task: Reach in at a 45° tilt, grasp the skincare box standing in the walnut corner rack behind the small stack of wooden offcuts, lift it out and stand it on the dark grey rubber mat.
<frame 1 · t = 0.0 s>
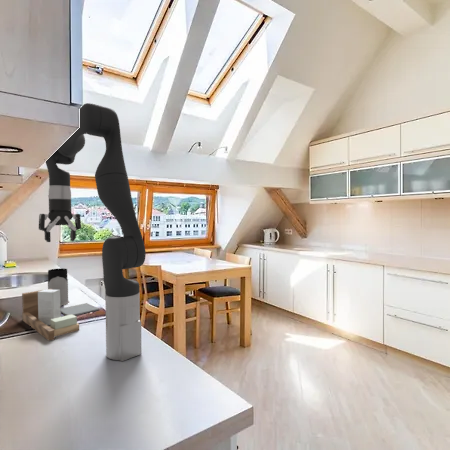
hand: (60, 241, 119), 29 cm above the worktop, tool pointing down, fingers open, 8 cm apart
rubber mat: (78, 310, 130), on the worktop
offcut top: (64, 325, 106), point 2 cm above the worktop
corner rack: (51, 325, 112), on the worktop
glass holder: (58, 302, 142), on the worktop
skincare box: (49, 323, 114), on the worktop
offcut bottom: (64, 332, 106), on the worktop
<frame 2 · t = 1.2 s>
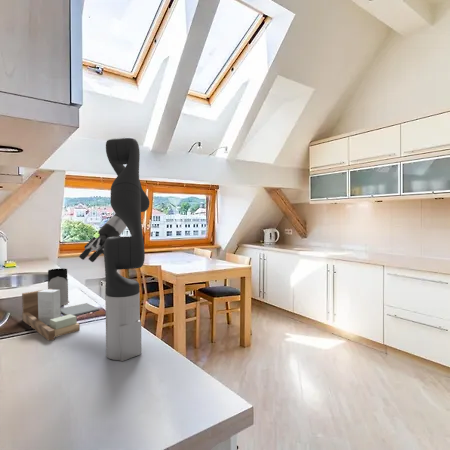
hand: (85, 259, 123), 22 cm above the worktop, tool tilted 45°, fingers open, 8 cm apart
offcut top: (63, 325, 106), point 2 cm above the worktop, touching offcut bottom
offcut bottom: (64, 332, 106), on the worktop, touching offcut top
everything else where it was.
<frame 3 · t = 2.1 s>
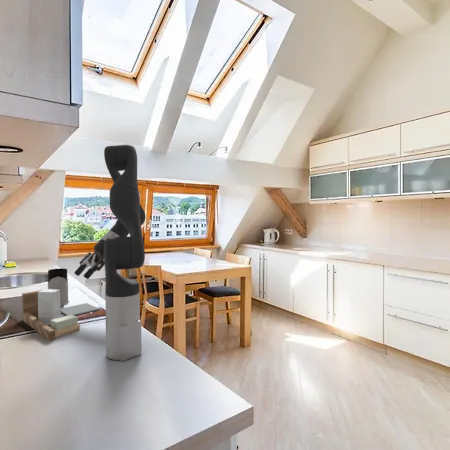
hand: (80, 276, 122), 16 cm above the worktop, tool tilted 45°, fingers open, 8 cm apart
nothing on the worktop moved.
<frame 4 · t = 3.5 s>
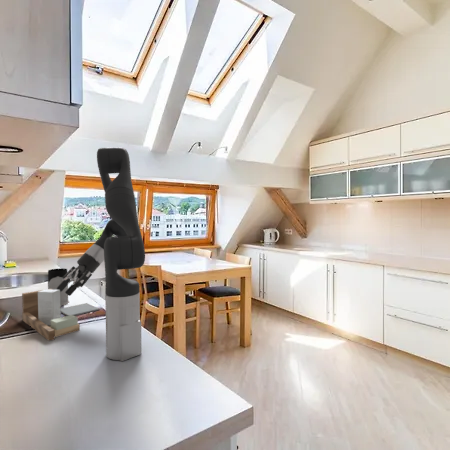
hand: (62, 292, 117), 10 cm above the worktop, tool tilted 45°, fingers open, 8 cm apart
nothing on the worktop moved.
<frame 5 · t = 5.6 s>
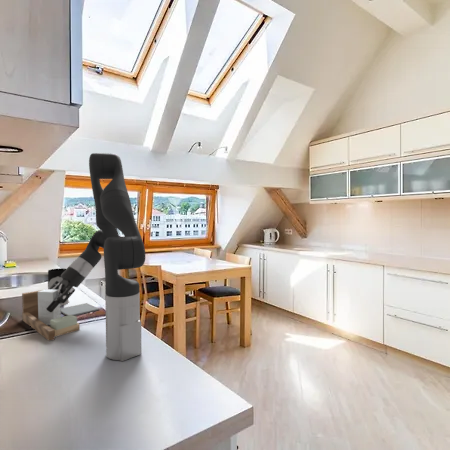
hand: (44, 308, 113), 6 cm above the worktop, tool tilted 45°, fingers closed on skincare box, 7 cm apart
skincare box: (49, 323, 114), on the worktop, touching gripper
everything else where it was.
when the fingers open (7 cm above the worktop, at t = 12.8 s): skincare box drops 1 cm, resting on rubber mat.
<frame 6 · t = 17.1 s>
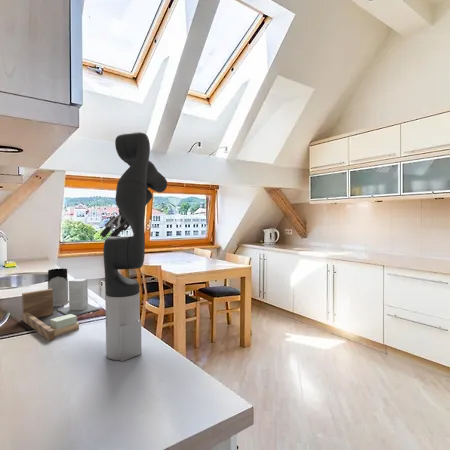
hand: (106, 236, 125), 31 cm above the worktop, tool tilted 45°, fingers open, 8 cm apart
skincare box: (78, 309, 130), resting on rubber mat
at the end: skincare box inside the target area (0.3 cm from its centre), resting on rubber mat; skincare box tilted 0°; offcut top moved 0.8 cm from its start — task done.
